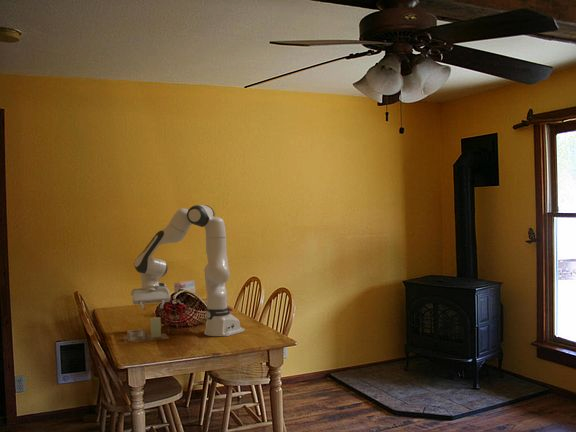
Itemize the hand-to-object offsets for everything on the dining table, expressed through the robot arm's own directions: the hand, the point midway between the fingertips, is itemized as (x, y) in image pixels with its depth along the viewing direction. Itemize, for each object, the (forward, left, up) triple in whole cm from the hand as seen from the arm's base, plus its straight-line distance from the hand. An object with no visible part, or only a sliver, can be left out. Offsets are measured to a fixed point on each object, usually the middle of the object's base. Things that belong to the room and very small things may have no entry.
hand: (152, 308), depth 292 cm
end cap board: (+8, +7, -15) cm, 18 cm away
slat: (+3, +9, -13) cm, 16 cm away
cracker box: (-43, -38, -15) cm, 60 cm away
